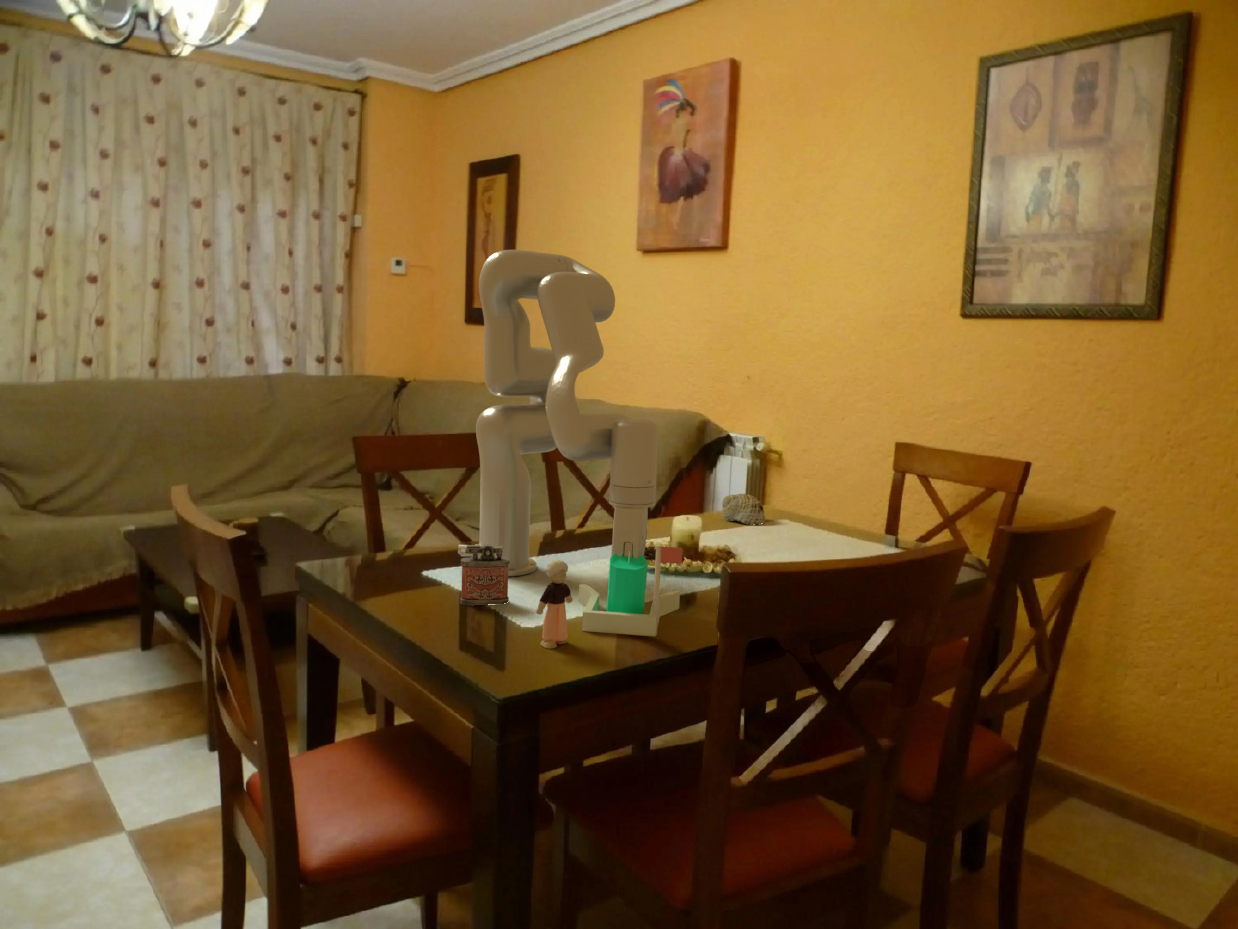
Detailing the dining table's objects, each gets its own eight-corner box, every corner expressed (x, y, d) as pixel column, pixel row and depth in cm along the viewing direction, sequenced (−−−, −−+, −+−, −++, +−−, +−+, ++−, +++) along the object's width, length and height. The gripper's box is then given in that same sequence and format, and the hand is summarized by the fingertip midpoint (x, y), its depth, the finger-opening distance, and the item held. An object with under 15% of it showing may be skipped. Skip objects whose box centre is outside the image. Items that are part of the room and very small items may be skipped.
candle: (639, 630, 142) (645, 563, 138) (602, 624, 143) (606, 558, 138) (645, 609, 148) (651, 545, 143) (609, 604, 149) (614, 540, 144)
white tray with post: (563, 629, 140) (566, 541, 138) (579, 600, 156) (582, 520, 154) (677, 638, 139) (682, 549, 137) (682, 608, 154) (686, 527, 152)
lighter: (508, 599, 155) (509, 542, 154) (509, 605, 152) (510, 547, 150) (460, 600, 154) (461, 542, 152) (460, 606, 150) (461, 547, 149)
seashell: (774, 522, 226) (761, 487, 223) (742, 540, 224) (728, 506, 221) (755, 512, 235) (742, 478, 232) (724, 529, 233) (710, 496, 230)
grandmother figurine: (554, 652, 130) (557, 567, 128) (531, 648, 132) (533, 563, 130) (578, 637, 137) (581, 555, 135) (556, 633, 139) (558, 552, 137)
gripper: (614, 486, 154) (610, 591, 157) (604, 502, 140) (600, 617, 142) (658, 489, 154) (653, 593, 156) (652, 504, 139) (647, 620, 141)
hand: (628, 604), depth 149 cm, fingers closed
